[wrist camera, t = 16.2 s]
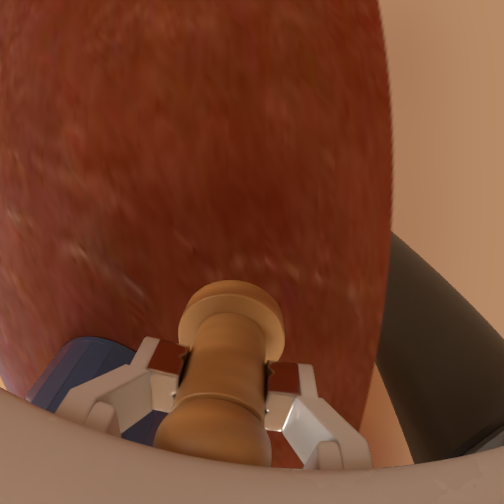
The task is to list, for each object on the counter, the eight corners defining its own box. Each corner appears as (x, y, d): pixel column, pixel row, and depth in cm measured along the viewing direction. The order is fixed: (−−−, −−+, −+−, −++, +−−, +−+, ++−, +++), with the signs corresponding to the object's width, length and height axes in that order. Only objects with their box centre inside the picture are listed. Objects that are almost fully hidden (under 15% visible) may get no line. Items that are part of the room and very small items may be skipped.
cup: (174, 354, 20) (136, 464, 12) (173, 437, 24) (151, 523, 15) (49, 321, 20) (-18, 399, 12) (71, 407, 24) (32, 479, 15)
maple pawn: (293, 288, 12) (318, 472, 5) (272, 368, 13) (272, 532, 6) (188, 270, 12) (105, 435, 5) (182, 352, 13) (129, 508, 6)
